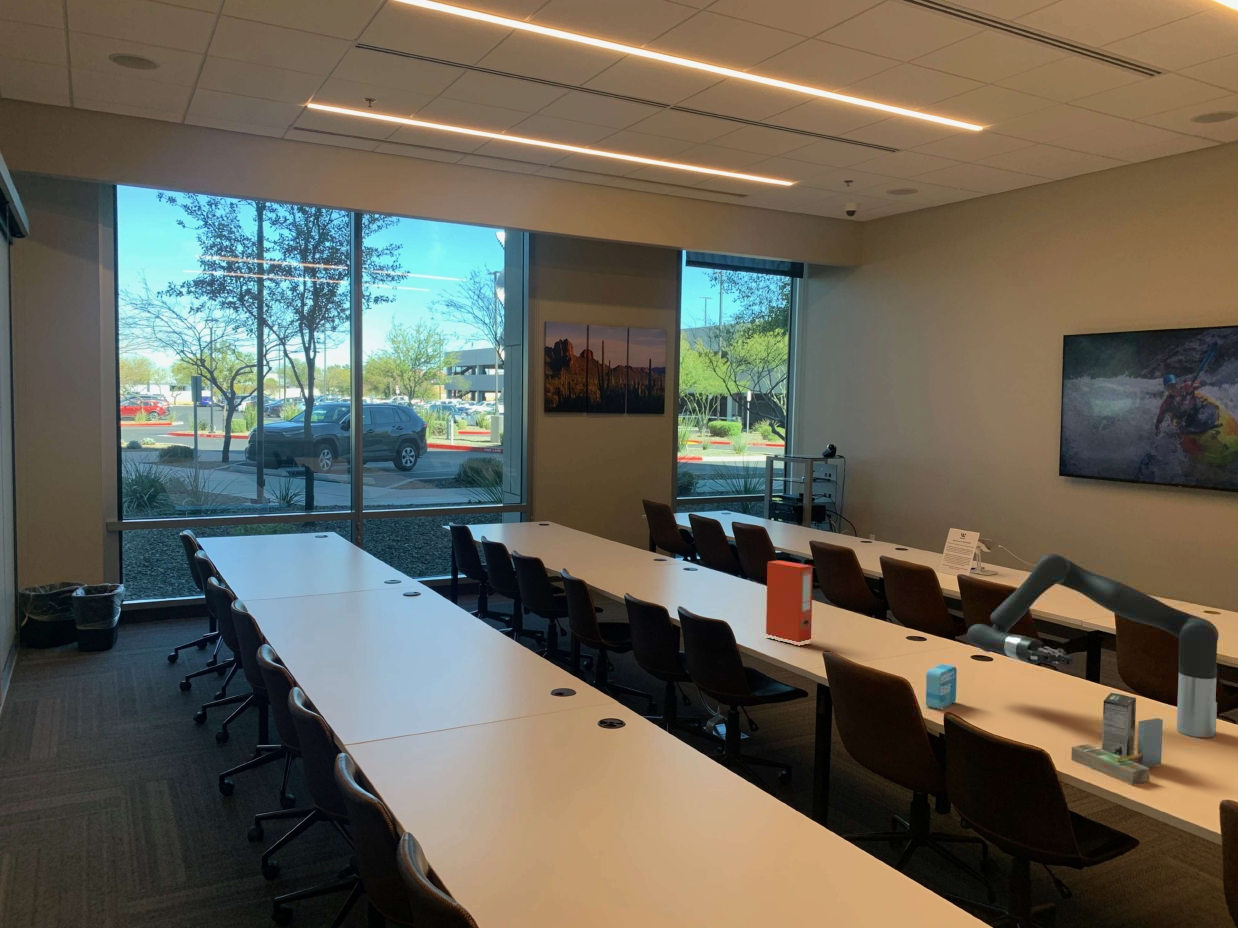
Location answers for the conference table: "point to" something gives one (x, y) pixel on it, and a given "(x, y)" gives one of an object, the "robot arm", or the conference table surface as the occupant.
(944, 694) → the data package
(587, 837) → the conference table surface
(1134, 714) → the coffee box
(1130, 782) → the frame
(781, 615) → the file binder
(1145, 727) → the blue-grey flat panel
